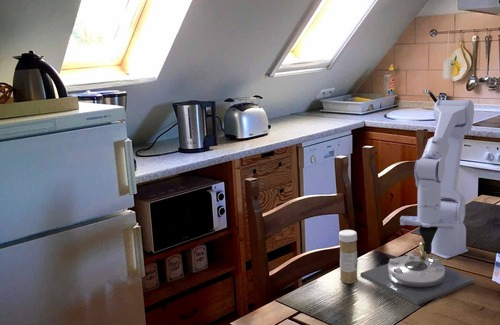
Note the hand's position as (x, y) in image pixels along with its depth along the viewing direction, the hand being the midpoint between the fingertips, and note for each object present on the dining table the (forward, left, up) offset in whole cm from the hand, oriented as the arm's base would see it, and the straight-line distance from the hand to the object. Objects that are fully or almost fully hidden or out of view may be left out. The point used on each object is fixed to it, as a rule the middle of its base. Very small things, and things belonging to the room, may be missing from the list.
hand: (428, 252), depth 144 cm
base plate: (+6, +1, -5) cm, 8 cm away
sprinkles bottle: (+20, -9, -6) cm, 23 cm away
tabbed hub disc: (+6, +1, -4) cm, 8 cm away
